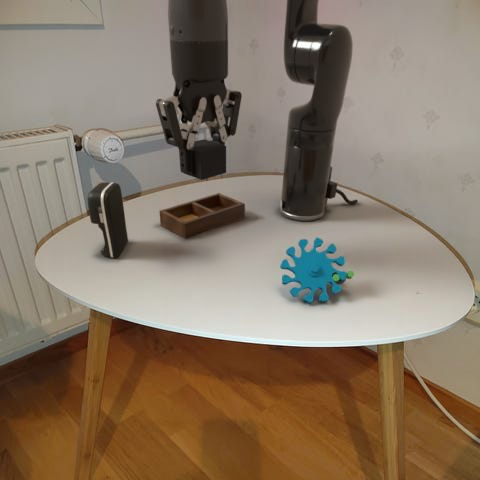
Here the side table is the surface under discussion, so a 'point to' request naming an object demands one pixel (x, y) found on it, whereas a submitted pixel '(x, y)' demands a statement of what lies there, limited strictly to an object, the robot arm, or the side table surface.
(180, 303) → the side table surface
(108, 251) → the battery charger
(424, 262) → the side table surface
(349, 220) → the side table surface
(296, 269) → the gear
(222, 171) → the black block
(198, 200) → the wooden divided tray
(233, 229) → the side table surface
